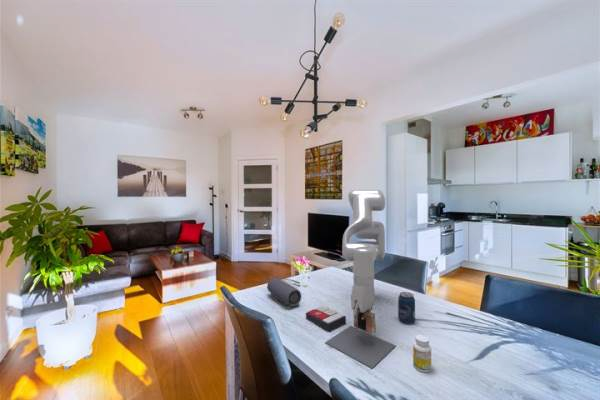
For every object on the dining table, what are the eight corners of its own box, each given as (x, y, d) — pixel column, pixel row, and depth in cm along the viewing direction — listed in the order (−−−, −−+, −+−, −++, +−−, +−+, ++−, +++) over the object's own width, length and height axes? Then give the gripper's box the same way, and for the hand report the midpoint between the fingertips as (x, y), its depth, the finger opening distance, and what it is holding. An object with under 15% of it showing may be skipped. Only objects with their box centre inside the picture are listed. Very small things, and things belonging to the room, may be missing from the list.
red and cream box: (322, 304, 121) (345, 314, 109) (323, 313, 121) (346, 324, 109) (305, 311, 114) (328, 322, 102) (305, 320, 114) (328, 332, 102)
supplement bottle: (429, 375, 77) (429, 345, 77) (411, 367, 80) (411, 338, 80) (433, 366, 81) (433, 337, 81) (415, 359, 85) (415, 331, 84)
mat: (350, 326, 106) (350, 325, 106) (395, 346, 92) (395, 345, 92) (325, 343, 95) (325, 342, 95) (372, 369, 80) (372, 367, 80)
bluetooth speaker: (302, 306, 127) (302, 286, 127) (287, 311, 121) (286, 291, 121) (280, 292, 146) (280, 275, 145) (266, 296, 140) (266, 278, 140)
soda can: (395, 321, 110) (395, 294, 110) (401, 315, 115) (401, 290, 115) (412, 326, 105) (411, 299, 105) (417, 320, 111) (417, 294, 110)
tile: (357, 324, 99) (357, 307, 99) (375, 332, 93) (375, 313, 93) (353, 327, 97) (353, 309, 97) (371, 335, 91) (371, 316, 91)
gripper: (366, 272, 103) (366, 316, 103) (343, 282, 92) (343, 331, 92) (383, 276, 98) (383, 322, 98) (360, 287, 87) (361, 339, 87)
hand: (364, 326), depth 95 cm, fingers closed on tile, 2 cm apart
